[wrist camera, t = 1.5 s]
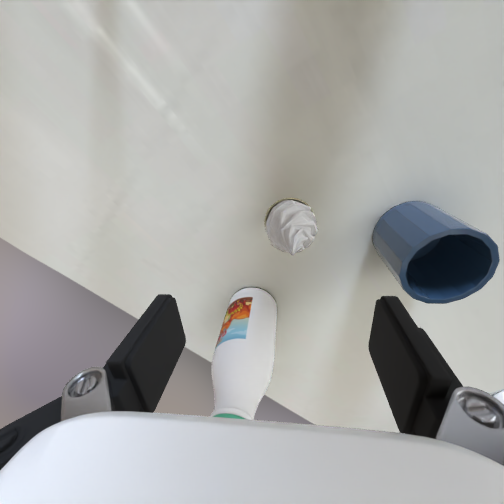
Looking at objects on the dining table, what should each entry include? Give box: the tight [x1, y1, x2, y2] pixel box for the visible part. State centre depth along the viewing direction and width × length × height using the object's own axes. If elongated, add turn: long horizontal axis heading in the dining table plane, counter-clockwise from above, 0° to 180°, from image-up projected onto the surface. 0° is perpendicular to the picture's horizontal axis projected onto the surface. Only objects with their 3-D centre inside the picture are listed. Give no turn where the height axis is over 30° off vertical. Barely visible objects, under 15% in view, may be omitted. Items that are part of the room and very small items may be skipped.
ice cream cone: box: [265, 198, 318, 255], centre depth 25 cm, size 5×5×15 cm
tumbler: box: [373, 201, 499, 304], centre depth 28 cm, size 8×8×9 cm
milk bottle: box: [210, 287, 277, 420], centre depth 31 cm, size 8×8×20 cm
